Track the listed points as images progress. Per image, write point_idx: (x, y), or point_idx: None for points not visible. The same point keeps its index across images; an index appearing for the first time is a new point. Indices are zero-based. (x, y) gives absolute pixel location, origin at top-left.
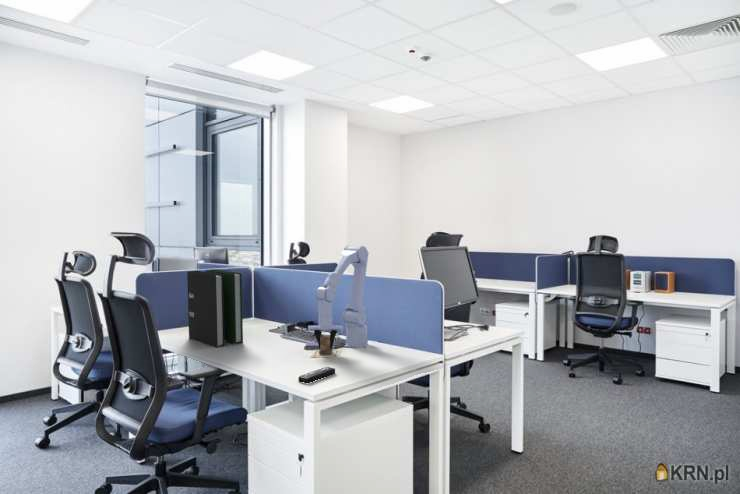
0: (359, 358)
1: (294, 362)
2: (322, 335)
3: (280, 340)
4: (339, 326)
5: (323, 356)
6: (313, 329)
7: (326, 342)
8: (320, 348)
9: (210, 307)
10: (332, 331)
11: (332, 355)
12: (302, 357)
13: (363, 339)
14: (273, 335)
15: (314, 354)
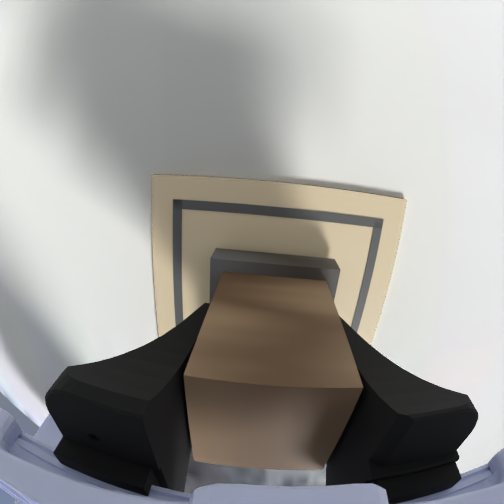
0: (18, 157)
1: (489, 73)
2: (315, 450)
3: None
4: (7, 487)
5: (288, 194)
6: (463, 490)
7: (254, 327)
8: (328, 291)
9: None
10: (123, 463)
11: (202, 226)
12: (459, 201)
13: (52, 429)
14: None
15: (372, 269)
